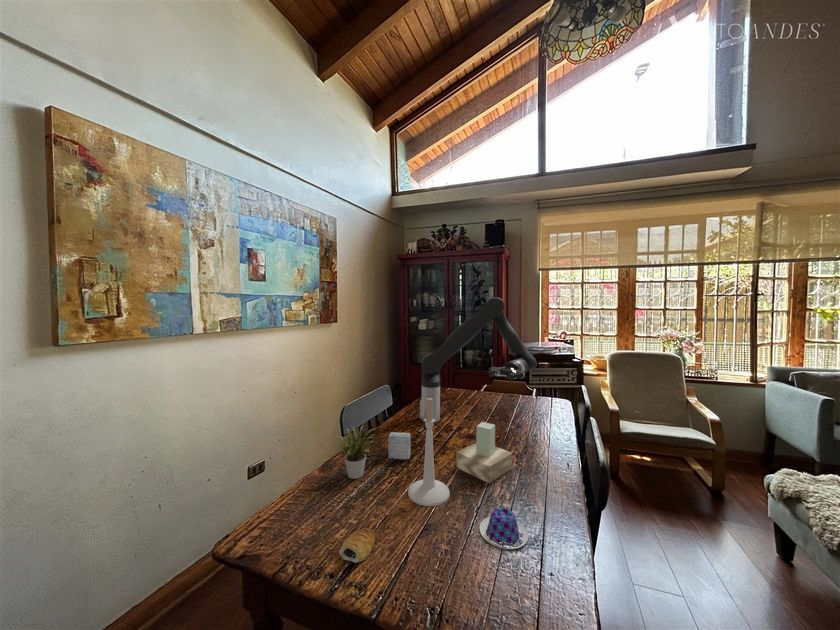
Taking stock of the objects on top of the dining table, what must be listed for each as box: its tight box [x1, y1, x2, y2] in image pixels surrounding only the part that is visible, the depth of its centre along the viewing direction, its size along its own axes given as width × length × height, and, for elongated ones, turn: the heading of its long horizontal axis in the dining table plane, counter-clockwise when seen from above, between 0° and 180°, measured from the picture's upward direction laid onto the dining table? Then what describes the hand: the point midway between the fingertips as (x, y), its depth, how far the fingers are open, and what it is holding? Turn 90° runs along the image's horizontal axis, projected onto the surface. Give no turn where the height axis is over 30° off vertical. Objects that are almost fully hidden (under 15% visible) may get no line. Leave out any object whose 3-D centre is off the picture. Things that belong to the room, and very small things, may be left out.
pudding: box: [479, 507, 529, 550], centre depth 82 cm, size 12×12×5 cm
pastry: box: [338, 527, 376, 564], centre depth 77 cm, size 9×7×4 cm
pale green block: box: [475, 421, 496, 458], centre depth 113 cm, size 5×5×10 cm
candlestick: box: [407, 397, 451, 507], centre depth 98 cm, size 13×13×30 cm
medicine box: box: [387, 431, 411, 460], centre depth 122 cm, size 8×4×9 cm, turn 84°
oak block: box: [455, 442, 513, 484], centre depth 114 cm, size 14×14×6 cm
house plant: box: [334, 424, 377, 480], centre depth 109 cm, size 14×14×16 cm
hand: (500, 375), depth 129 cm, fingers open, 8 cm apart
